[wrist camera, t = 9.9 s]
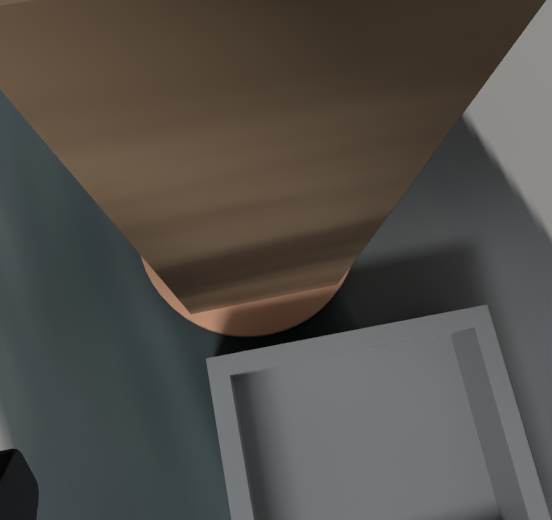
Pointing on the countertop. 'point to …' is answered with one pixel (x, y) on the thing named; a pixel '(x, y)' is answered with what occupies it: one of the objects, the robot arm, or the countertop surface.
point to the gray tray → (376, 426)
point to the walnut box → (249, 122)
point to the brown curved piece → (253, 311)
